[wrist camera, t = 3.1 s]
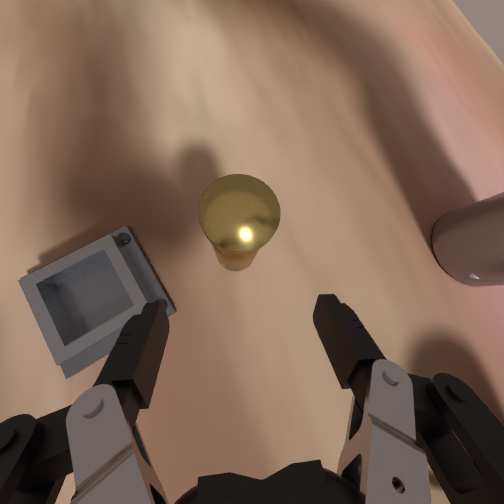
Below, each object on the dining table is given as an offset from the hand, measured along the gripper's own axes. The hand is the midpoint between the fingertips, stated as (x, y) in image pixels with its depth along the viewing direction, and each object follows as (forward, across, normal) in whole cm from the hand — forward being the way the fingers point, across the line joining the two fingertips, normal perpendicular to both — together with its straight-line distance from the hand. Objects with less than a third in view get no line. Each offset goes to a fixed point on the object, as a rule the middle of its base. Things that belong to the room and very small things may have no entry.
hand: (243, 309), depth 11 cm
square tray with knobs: (+8, +13, +6) cm, 16 cm away
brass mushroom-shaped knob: (+11, 0, +4) cm, 12 cm away
